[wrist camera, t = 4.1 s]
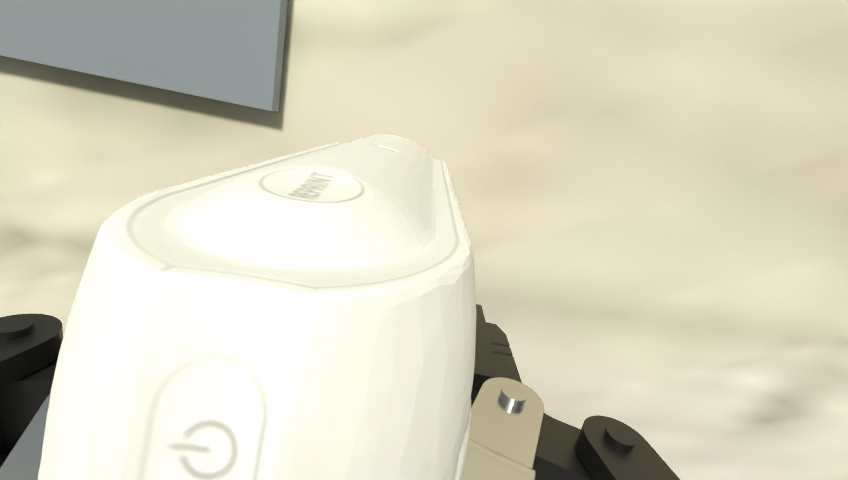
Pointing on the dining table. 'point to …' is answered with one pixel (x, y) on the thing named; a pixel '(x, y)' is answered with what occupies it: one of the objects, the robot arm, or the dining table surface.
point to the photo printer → (274, 327)
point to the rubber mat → (157, 43)
